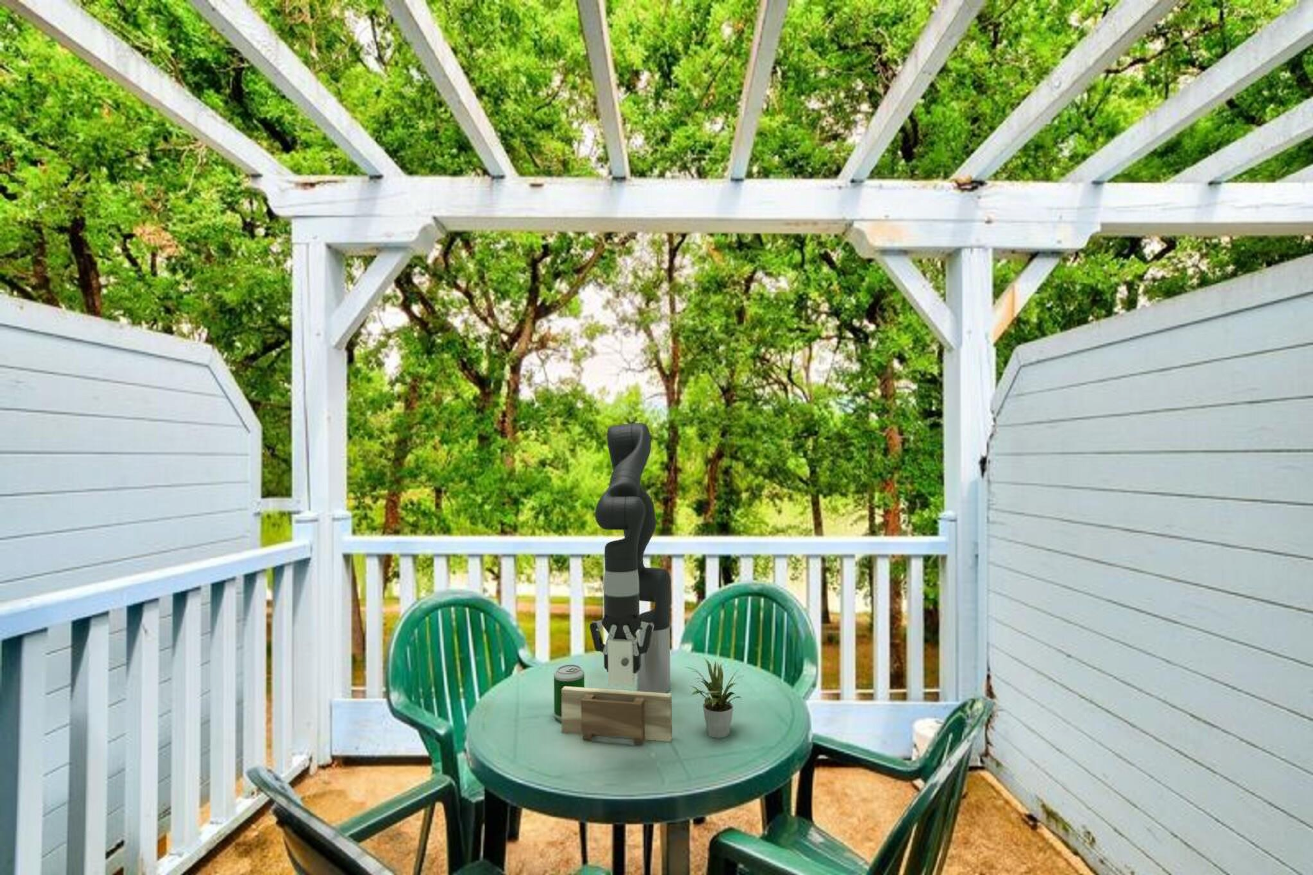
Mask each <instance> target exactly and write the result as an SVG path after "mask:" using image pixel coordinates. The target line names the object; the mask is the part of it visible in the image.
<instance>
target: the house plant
mask: <svg viewBox="0 0 1313 875" xmlns="http://www.w3.org/2000/svg"><path fill="white" fill-rule="evenodd" d="M703 659H704V660H705V662H706V665H707V670H708V675H709V677H710V680H711V681H709V682H708V681H707V680H706V679H705V678H704V676H703V675H702V674H701V673H700V672H699V671H698V670H697V669H696V668H692V667H689V669H692V670H693V672H695V673H697V674H698V675H699V676H700V677H701V678H700V677H698V678H694V679H693V680H698V681H697V683H699V682H702V683H703V684H704V686H705V687H706V688H707V691H708V692H706V691H703V690H699V689H698V688H697V687H695V686H693V685H690V687H691V688H694V689H695V690H694V691H693V692H692V693H691V696H693V695H697V694H700V695H701V696H702V697H703V698H704V703H703V704H702V708H703V709H702V710H703V715H704V716H703V717H704V720H705V721H704V722H705V726H706V731H707V734H708V736H710V737H712V738H716V739H717V738H718V739H721V738H722V739H723V738H726V737H728V736H729V735H730V732H731V727H732V726H731V724H732V719H733V718H732V716H733V710H734V706H733V703H732V702H731V701H733V700H734V699H736V698H737V699H738V698H739V699H741V700H743V698H742V697H741V696H734V697H733V698H731V699H729V698H730V697H732V695H736V693H735V692H733V691H729V690H730V688H732V687H733V686H734V685H738V683H734V682H735V681H736V680H737V679H739V678H741V677H743V675H740V676H738V677H737V678H736V679H734V680H733V678H734V677H735V676H736V673H737V672H738V670H736V671H735V672H734V674H732V677H731V678H730V680H729V681H728V682H727V684H726V686H725V689H724V687H723V685H724V670H723V668H722V665H723V664H720V663H718V662H717V661H716V660H715V662H714V663H713V668H712V665H711V663H710V662H709V660H708V659H707V658H705V657H704V658H703ZM719 664H720V665H719ZM684 668H687V669H688V666H687V667H684ZM732 680H733V682H731V681H732ZM723 690H724V691H723ZM703 693H704V694H703Z"/></svg>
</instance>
